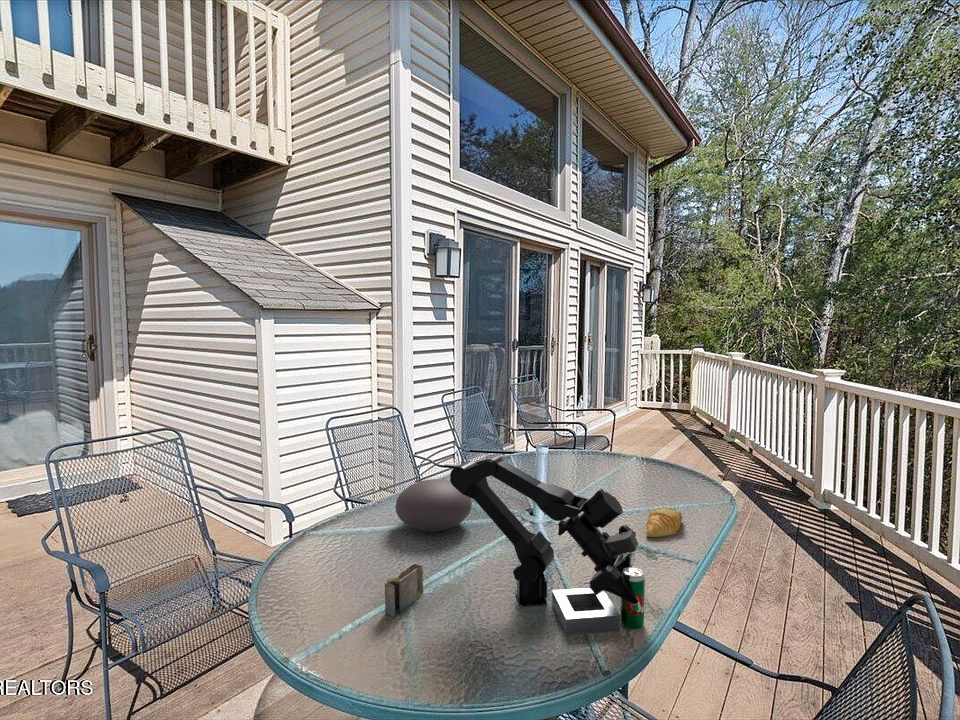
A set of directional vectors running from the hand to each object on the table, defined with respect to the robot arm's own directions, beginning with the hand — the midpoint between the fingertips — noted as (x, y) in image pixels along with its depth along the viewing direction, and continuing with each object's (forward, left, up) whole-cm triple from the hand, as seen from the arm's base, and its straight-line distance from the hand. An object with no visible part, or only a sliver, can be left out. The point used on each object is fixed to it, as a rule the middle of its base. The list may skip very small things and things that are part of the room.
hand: (639, 596), depth 113 cm
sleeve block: (-11, +5, -7) cm, 13 cm away
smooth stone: (-43, +61, -7) cm, 75 cm away
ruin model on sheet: (-51, +16, -7) cm, 54 cm away
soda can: (-1, +1, -7) cm, 7 cm away
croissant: (+30, +49, -7) cm, 58 cm away
